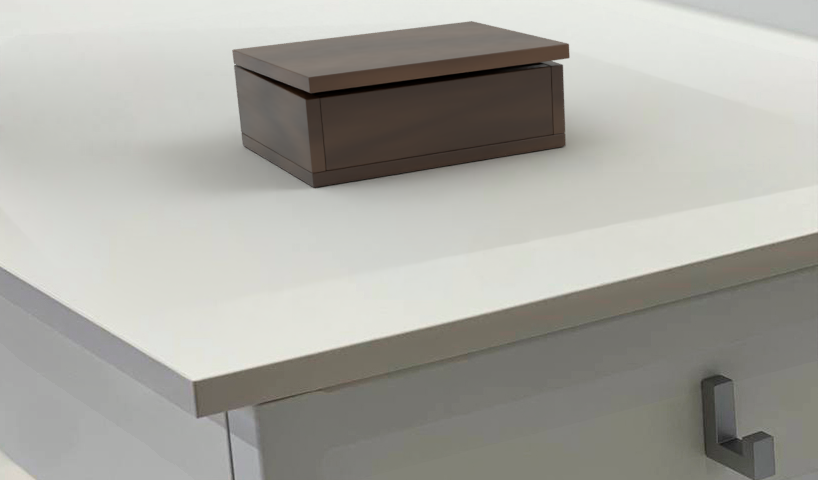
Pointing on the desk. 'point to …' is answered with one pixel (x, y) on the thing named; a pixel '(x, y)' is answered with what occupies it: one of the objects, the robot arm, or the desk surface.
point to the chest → (401, 121)
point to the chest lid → (397, 55)
